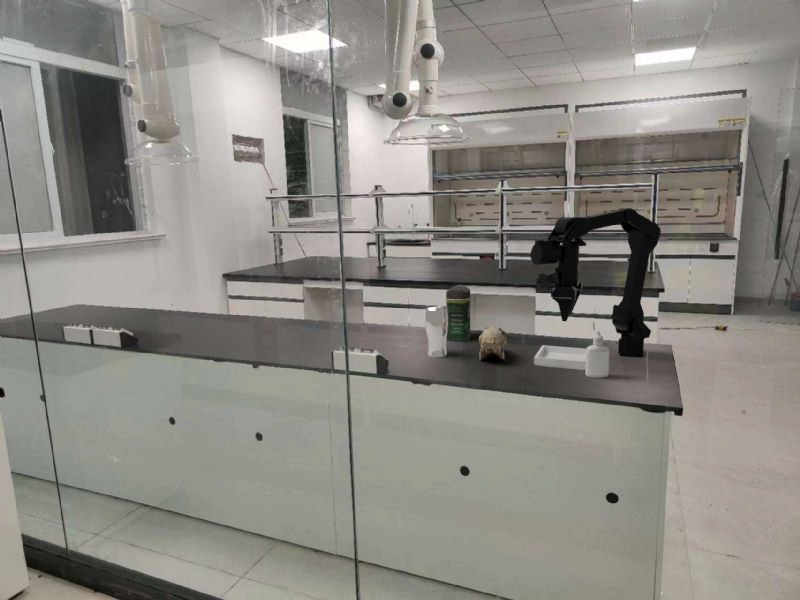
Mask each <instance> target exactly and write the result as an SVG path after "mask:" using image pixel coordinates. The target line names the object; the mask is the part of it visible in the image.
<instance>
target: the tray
mask: <svg viewBox="0 0 800 600" xmlns="http://www.w3.org/2000/svg"><path fill="white" fill-rule="evenodd" d="M586 349H587V348H584V347H583V348H582V347H568V346H557V345H543V344H542V345H541V346H540V348H539V349H538V351H537V353H536V354H535V355H534V357H533V365H534V366H538V365H539V367H548V368H555V367H556V369H570V370H579V371H586Z"/></svg>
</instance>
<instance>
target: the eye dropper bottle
mask: <svg viewBox="0 0 800 600" xmlns="http://www.w3.org/2000/svg"><path fill="white" fill-rule="evenodd" d="M585 349H586V370H584V371H585V376H586V377H587V378H592V379H594V378H595V379H601V378H602V379H603V378H607V377H609V374H610V373H609V371H610V370H609V369H610V348H609V347H607V345H604V337H603V336H602V335H601V331H598V330H597V331H596V333H595V335H593V337H592V344H591V345H588V346H587V347H586V348H585Z"/></svg>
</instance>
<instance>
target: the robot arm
mask: <svg viewBox="0 0 800 600" xmlns="http://www.w3.org/2000/svg"><path fill="white" fill-rule="evenodd" d="M616 225H620V227H621V229H622V230H623V231H624V232H626V234H627V243H628V246H629V249H630V257H629V262H628V268H627V273H626V279H625V285H624V289H623V295H622V299H621V301H620V302H619V303H618V305H617V304H614V305H613V306H612V313H611V316H610V318H611V319H612V320H611V322H612V325H613V326H614V328H615V332H616V333H617V334H620V337H619V338H618V349H617V351H618V352H617V353H618V354H619V357H629V358H640V359H641V358H642V359H643V358H644V356H645V355H644V348H645V347H644V345H645V343H644V342H645V339H648V338H650V335H651V333H652V330H651V329H650V328H649V326H647V324H646V323H645V322H644V320H645V319H644V318H645V316H644V315H645V312H644V309H643V307H642V304H641V301H642V296H643V292H644V287H645V280H646V275H647V269H648V264H649V259H650V254H651V253H652V252H653V251H654V250H655V248H656V247H657V246H658V242H659V240H660V237H661V232H662V230H661V227H660V226H659V224H658V223H656V222H653V221H651V219H650V218H647V217H646V216H643V215H641V214H639V213H638V212H637V211H636V210H635V209H633V208H632V207H629V208H628V207H625V208H624V207H621V208H620V207H619V208H617V209H616V210H611V211H605V212H601V213H596V214H593V215H588V216H573V217H572V216H567V217H566V216H563V217H559V218H558V219H557V220H556V222H555V224H554V227H553V229H552V230H551V232H550V234H549V235H548V237H547V238H546V239H535V240H534V244H533V246H532V247H531V250H530V260H531V262H532V264H533V265H535V266H540V265H555V264H556V263H557V265H556V267H555V268H554V271H552V272H548V273H546V272H542V273H539V274H538V276H537V277H536V278H535V283H536V285H537V286H538V289H539V290H541V289H544V288H545V287H548V286H552V285H554V287H553V288H551V289H550V297H551V298H552V300H554V301H555V303H557V304H558V305H557V306H558V309H559V313H560V316H561V321H562V322H567V321H568V318H569V316H571V315H572V313H573V311H574V309H575V306H576V304H577V301H578V300H579V298H580V295H581V294H582V293H581V292H582V290H583V288H584V287H583V285H584V284H583V280H582V279H580V278H579V275H580V274H579V273H580V269H581V266H580V247H586V246H587V243H586V242H585V241H584V239H582V237H584V236H586V235H587V234H589V233H590V232H591V231H594V230H599V229H603V228H608V227H612V226H616Z"/></svg>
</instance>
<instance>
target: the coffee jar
mask: <svg viewBox="0 0 800 600" xmlns="http://www.w3.org/2000/svg"><path fill="white" fill-rule="evenodd" d="M445 305H446V306H445V307H446V308H447V311H448V333H447V339H446V341H449V342H456V343H462V342H463V343H465V342H468V341H469V340H470V339H471V289H470V288H468V286H467V285H455V286H453V287H451V288H448V289H447V290H446V292H445Z"/></svg>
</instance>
